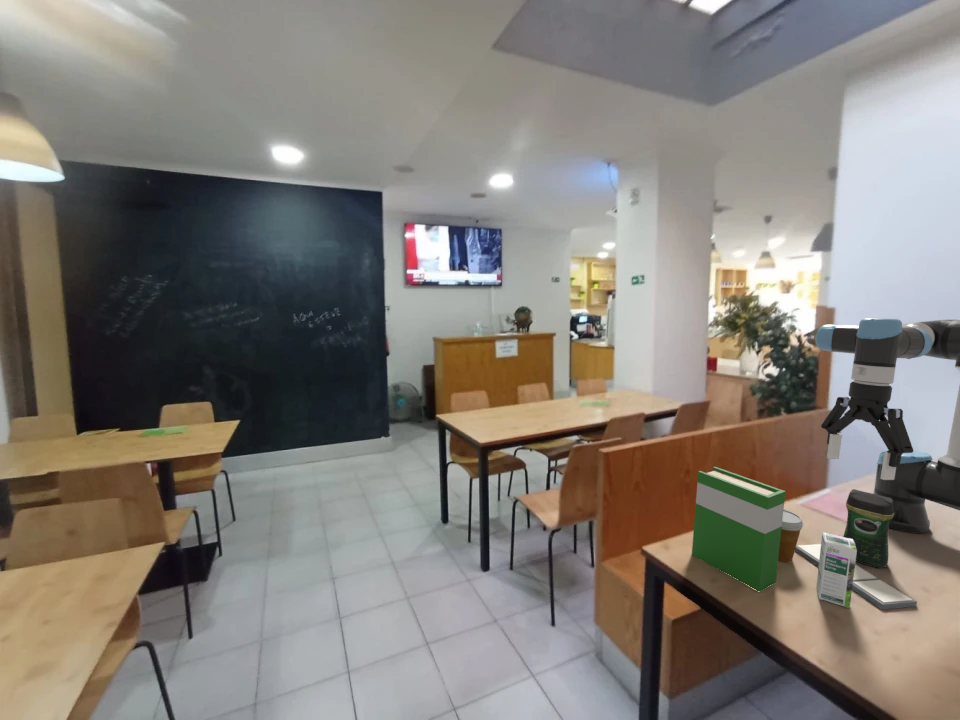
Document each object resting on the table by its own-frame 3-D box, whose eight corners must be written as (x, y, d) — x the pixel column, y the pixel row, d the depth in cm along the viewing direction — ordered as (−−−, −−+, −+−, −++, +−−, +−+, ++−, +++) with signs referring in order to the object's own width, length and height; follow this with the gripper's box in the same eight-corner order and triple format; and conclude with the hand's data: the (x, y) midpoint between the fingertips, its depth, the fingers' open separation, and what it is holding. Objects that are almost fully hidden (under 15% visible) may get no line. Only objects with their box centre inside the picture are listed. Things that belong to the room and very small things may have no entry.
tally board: (821, 547, 122) (822, 543, 122) (916, 606, 99) (917, 600, 98) (793, 549, 121) (793, 544, 121) (882, 609, 97) (882, 603, 97)
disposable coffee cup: (759, 560, 116) (763, 518, 114) (755, 543, 124) (759, 503, 123) (802, 570, 112) (807, 527, 110) (796, 552, 120) (800, 511, 118)
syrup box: (818, 599, 101) (825, 541, 99) (815, 585, 105) (822, 530, 104) (849, 609, 97) (857, 549, 96) (845, 594, 102) (853, 537, 100)
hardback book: (691, 554, 118) (698, 471, 115) (708, 547, 122) (715, 466, 119) (758, 592, 103) (768, 497, 100) (775, 583, 106) (785, 491, 103)
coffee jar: (888, 560, 116) (897, 495, 114) (885, 572, 111) (895, 504, 108) (842, 545, 123) (850, 484, 121) (837, 556, 118) (845, 492, 115)
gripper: (811, 374, 114) (801, 451, 117) (915, 393, 90) (899, 489, 92) (836, 375, 115) (826, 451, 118) (946, 393, 91) (929, 489, 93)
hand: (858, 468), depth 105 cm, fingers open, 13 cm apart
